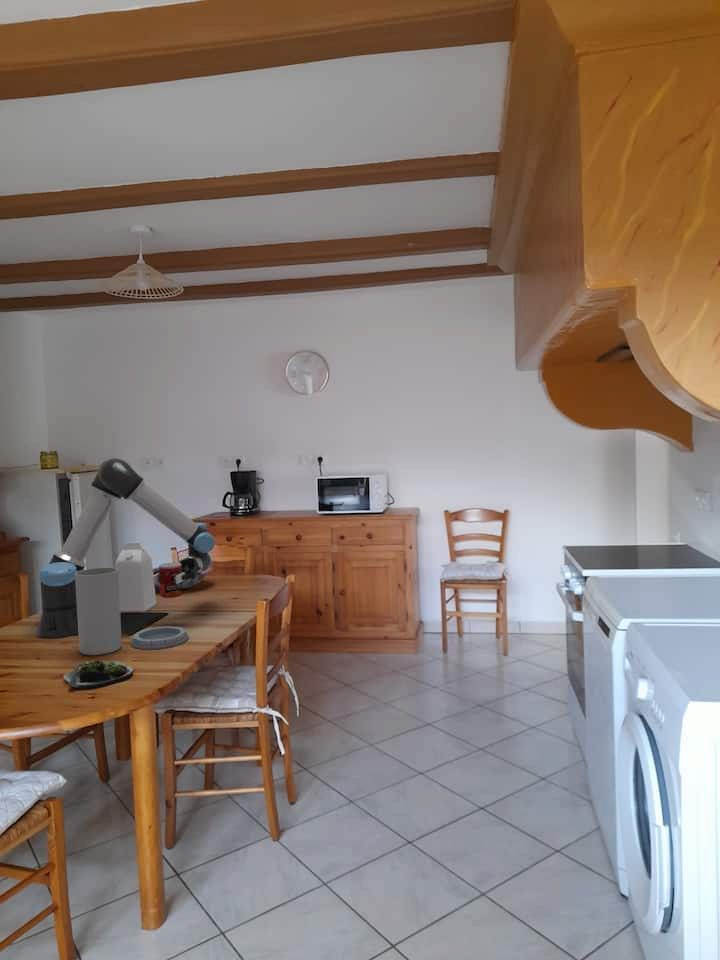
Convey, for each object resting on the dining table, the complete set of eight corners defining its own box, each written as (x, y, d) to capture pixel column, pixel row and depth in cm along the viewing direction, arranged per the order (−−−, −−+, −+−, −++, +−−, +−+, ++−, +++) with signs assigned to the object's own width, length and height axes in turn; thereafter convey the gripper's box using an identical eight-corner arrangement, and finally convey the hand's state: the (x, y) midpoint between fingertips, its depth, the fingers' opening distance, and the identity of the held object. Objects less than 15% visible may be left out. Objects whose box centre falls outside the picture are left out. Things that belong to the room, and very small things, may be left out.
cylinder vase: (128, 643, 216) (123, 567, 215) (112, 655, 204) (108, 574, 202) (89, 644, 217) (85, 568, 215) (72, 656, 204) (67, 576, 203)
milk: (156, 603, 269) (153, 540, 268) (144, 611, 258) (140, 544, 256) (127, 604, 270) (124, 540, 269) (114, 611, 259) (111, 545, 257)
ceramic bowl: (158, 599, 277) (157, 580, 277) (135, 587, 301) (134, 570, 300) (223, 588, 295) (222, 570, 294) (196, 578, 318) (196, 561, 318)
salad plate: (49, 678, 187) (48, 661, 187) (112, 662, 199) (111, 646, 199) (74, 696, 173) (73, 678, 172) (140, 677, 185) (139, 661, 185)
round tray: (146, 653, 205) (146, 645, 205) (121, 642, 218) (121, 634, 218) (198, 640, 217) (198, 632, 217) (172, 629, 230) (171, 622, 230)
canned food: (165, 599, 230) (164, 567, 229) (156, 595, 236) (155, 564, 235) (186, 595, 235) (185, 564, 234) (176, 591, 241) (175, 561, 240)
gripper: (216, 577, 252) (194, 590, 229) (163, 577, 254) (137, 590, 232) (215, 557, 251) (193, 569, 229) (162, 557, 254) (136, 569, 231)
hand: (165, 579), depth 230 cm, fingers closed on canned food, 8 cm apart
